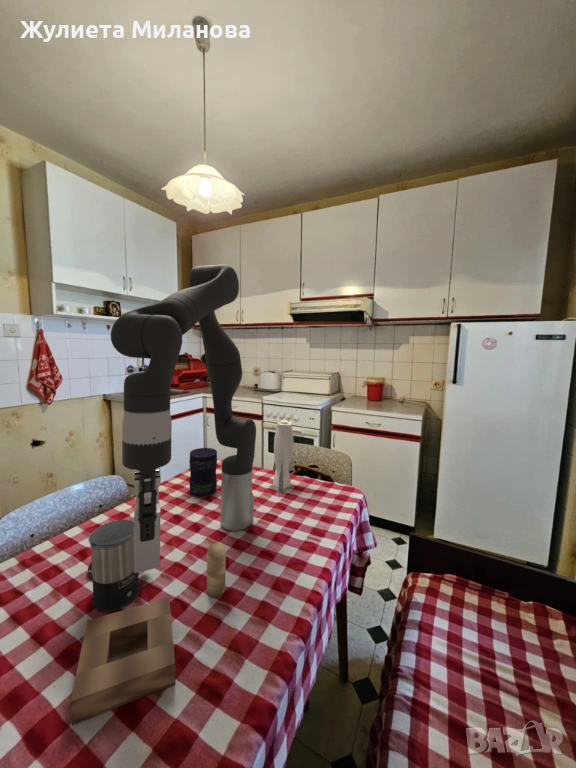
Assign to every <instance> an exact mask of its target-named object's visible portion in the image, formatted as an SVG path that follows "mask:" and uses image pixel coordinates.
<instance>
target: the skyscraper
mask: <svg viewBox="0 0 576 768" xmlns="http://www.w3.org/2000/svg"><path fill="white" fill-rule="evenodd" d="M292 423H293V420H290V421H288V420H286V419H284V420H283V419H282V420H280V415H278V416H277V419H276V428H275V434H274V439H273V440H274V441H273V442H274V443H273V457H274V458H273V459H274V465H275V472H274V476H273V482H272V484H271V485H269V486H268V487H269V488H271V489H273V490H275V491H276V492H278V493H280V494H282V493H285V492H287V491H290V490H292V489H295V487H294V486H292V482H291V481H292V480H291V476H290V470H289V467H290V465H291V460H292V458H293V457H292V456H293V453H294V452H293V451H294V433H293V426H292V425H293V424H292Z"/></svg>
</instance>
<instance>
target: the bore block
mask: <svg viewBox="0 0 576 768" xmlns="http://www.w3.org/2000/svg"><path fill="white" fill-rule="evenodd" d="M170 602H171V601H170V596H169V597H165V598H162V599H159V600H154V601H152V602H148V603H144V604H141V605H138V606H133V607H130V608H126V609H123V610H119V611H116V612H113V613H107V614H105V615H102V616H98V617H94V618H90V619H87V620H86V625H85V629H84V630H85V631H84V635H83V640H82V644H81V649H80V654H79V658H78V664H77V669H76V674H75V679H74V683H73V687H72V692H71V697H70V701H69V703H70V716H71V717H70V718H71V726H74V725H77V724H79V723H82V722H85V721H86V720H89V719H92V718H95V717H96V716H100V715H102V714H104V713H107V712H110V711H112V710H114V709H118V708H120V707H123V706H124V705H125V706H126V705H128V704H129V703H132V702H135V701H137V700H140V699H143V698H145V697H148V696H150V695H152V694H155V693H158V692H160V691H162V690H165V689H168V688H170V687H173V686H175V685H176V658H175V657H176V656H175V649H174V648H175V646H174V635H173V626H172V624H173V623H172V615H171V613H172V612H171V603H170Z"/></svg>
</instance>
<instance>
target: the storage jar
mask: <svg viewBox="0 0 576 768" xmlns="http://www.w3.org/2000/svg"><path fill="white" fill-rule="evenodd" d="M188 466H189V469H190V470H189V471H190V477H189V482H188V483H189V495H191V496H192V497H195V498H207V497H211V496H213V495H215V494H216V492H217V491H218V490H217V485H218V484H217V483H218V476H217V467H218V450H217V449H215V448H211V447H199V448H195V449H192V450H191V451H190V452H189V465H188Z"/></svg>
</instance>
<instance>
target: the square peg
mask: <svg viewBox="0 0 576 768" xmlns="http://www.w3.org/2000/svg"><path fill="white" fill-rule="evenodd" d="M133 510H134V511H133V512H134V573H137V572H139V573H140V572H146V571H149V570H154V569H158V568H159V569H160V568H161V504H160V501H159V502H158V504H156V515H157V518H156V521H155V537H154V539H153V540H150V541H145V542H141V541H140V523H139V521H138V516H139V507H137V506H136V504H134V509H133ZM150 512H152V511H150ZM144 513H145V512H144Z"/></svg>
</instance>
